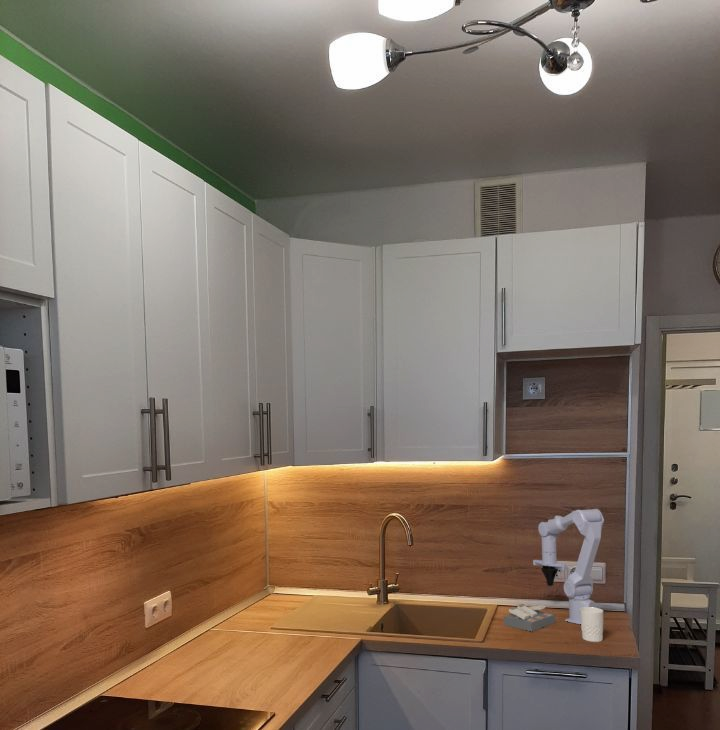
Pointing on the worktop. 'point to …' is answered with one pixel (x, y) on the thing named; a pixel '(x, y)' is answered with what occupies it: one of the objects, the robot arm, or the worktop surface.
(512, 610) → the left rocker
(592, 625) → the white cup
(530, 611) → the middle rocker
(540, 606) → the right rocker
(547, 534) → the robot arm
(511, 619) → the switch box
